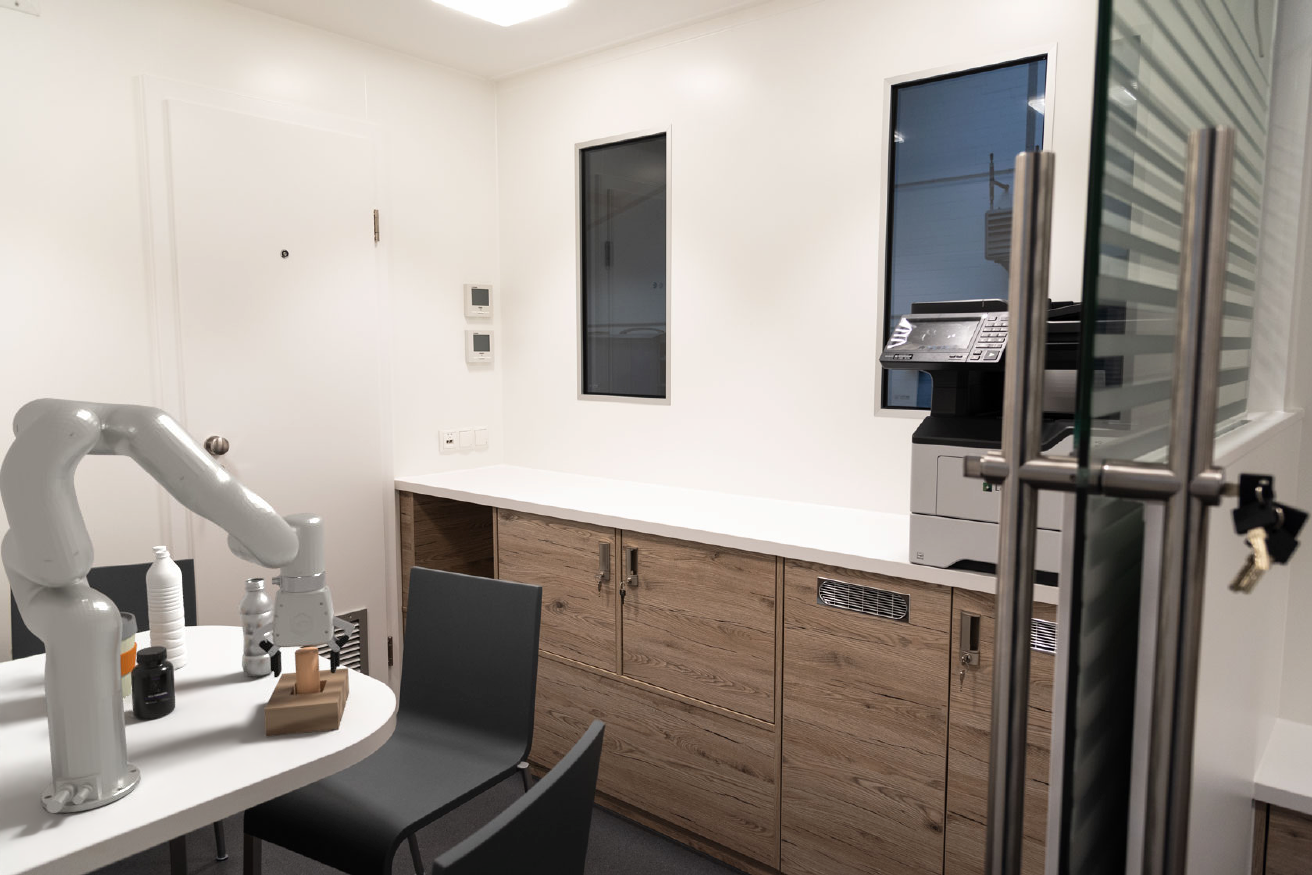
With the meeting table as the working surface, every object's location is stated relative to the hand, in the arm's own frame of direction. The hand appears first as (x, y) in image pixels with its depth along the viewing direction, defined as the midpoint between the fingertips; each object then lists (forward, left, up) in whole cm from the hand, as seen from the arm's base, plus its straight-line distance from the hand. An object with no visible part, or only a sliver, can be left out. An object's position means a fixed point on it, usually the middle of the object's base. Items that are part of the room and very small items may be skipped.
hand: (306, 672), depth 153 cm
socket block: (0, 0, -8) cm, 8 cm away
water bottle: (+32, +33, -8) cm, 47 cm away
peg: (0, 0, -8) cm, 8 cm away
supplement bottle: (+7, +28, -8) cm, 30 cm away
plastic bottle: (+22, +13, -8) cm, 27 cm away
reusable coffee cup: (+17, +40, -8) cm, 44 cm away
